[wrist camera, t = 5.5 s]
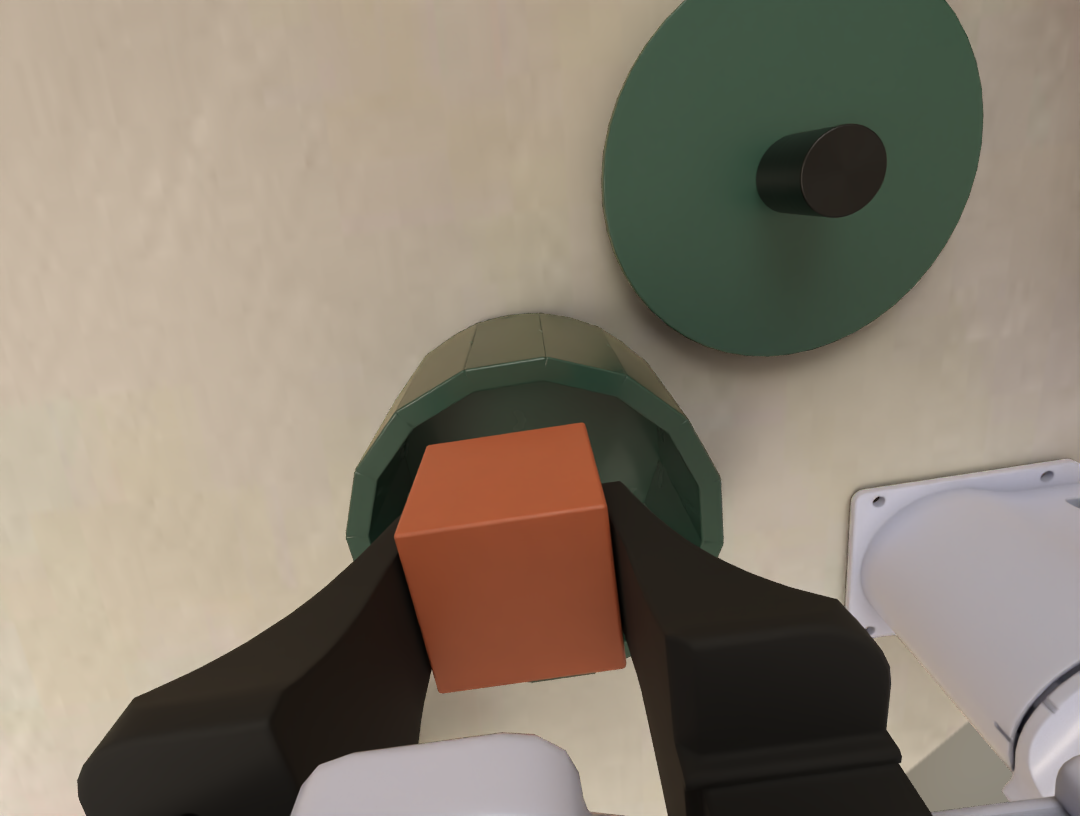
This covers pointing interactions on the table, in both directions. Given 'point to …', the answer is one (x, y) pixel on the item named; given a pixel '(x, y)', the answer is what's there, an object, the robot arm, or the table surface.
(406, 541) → the block
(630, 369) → the pot
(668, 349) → the table surface
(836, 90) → the lid
